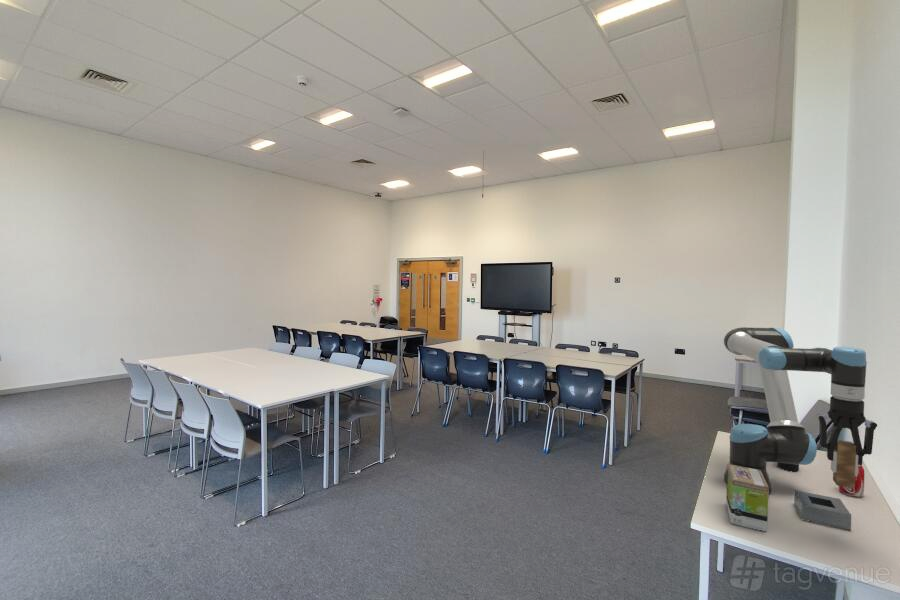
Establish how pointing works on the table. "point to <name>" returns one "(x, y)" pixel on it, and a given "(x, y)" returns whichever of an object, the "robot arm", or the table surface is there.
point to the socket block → (822, 509)
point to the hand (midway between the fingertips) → (843, 472)
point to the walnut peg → (845, 464)
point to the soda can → (859, 484)
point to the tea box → (747, 497)
